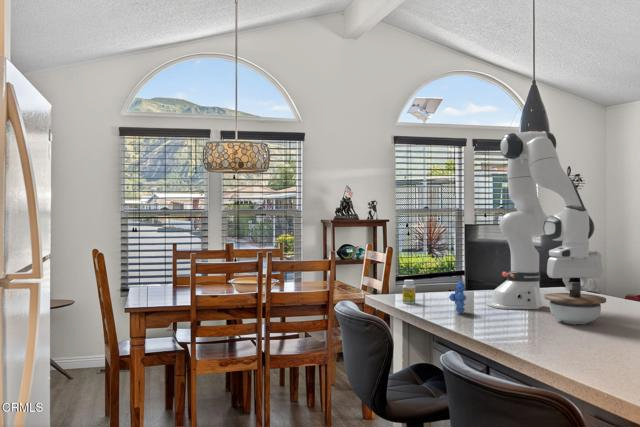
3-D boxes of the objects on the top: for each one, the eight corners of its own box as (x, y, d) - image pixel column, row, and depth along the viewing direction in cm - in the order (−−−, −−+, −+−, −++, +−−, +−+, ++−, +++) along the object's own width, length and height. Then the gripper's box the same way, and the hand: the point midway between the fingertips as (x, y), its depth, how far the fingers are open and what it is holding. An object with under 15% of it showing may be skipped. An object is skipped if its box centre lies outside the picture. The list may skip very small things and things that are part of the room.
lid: (567, 304, 200) (567, 286, 200) (533, 296, 220) (533, 279, 220) (619, 303, 204) (619, 285, 204) (581, 294, 224) (582, 278, 224)
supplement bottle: (416, 302, 255) (416, 279, 255) (414, 304, 250) (414, 281, 250) (403, 301, 256) (403, 279, 256) (401, 303, 251) (401, 280, 251)
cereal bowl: (538, 320, 217) (539, 300, 217) (573, 316, 223) (573, 298, 223) (575, 328, 201) (576, 307, 201) (611, 325, 208) (611, 304, 208)
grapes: (448, 310, 236) (448, 279, 236) (465, 310, 235) (466, 280, 235) (448, 315, 225) (449, 283, 225) (467, 315, 223) (467, 283, 223)
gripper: (595, 250, 217) (594, 288, 217) (544, 251, 213) (544, 289, 213) (607, 251, 211) (606, 291, 211) (555, 252, 207) (554, 292, 207)
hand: (574, 290), depth 212 cm, fingers closed on lid, 3 cm apart
